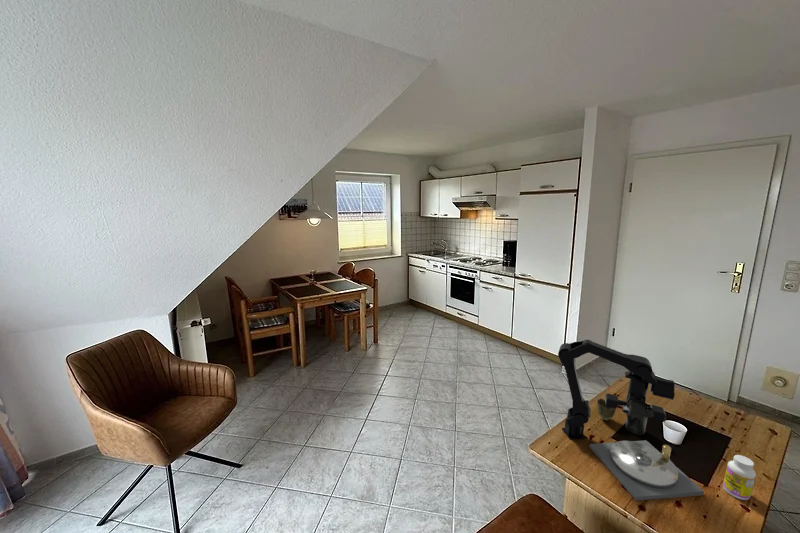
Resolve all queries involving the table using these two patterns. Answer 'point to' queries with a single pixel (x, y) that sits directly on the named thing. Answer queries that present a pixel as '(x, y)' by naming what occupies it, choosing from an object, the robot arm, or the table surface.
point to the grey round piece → (645, 463)
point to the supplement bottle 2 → (739, 477)
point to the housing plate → (641, 490)
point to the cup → (605, 410)
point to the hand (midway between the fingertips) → (630, 426)
